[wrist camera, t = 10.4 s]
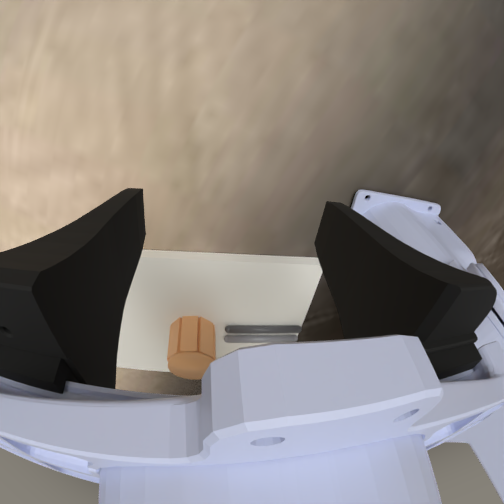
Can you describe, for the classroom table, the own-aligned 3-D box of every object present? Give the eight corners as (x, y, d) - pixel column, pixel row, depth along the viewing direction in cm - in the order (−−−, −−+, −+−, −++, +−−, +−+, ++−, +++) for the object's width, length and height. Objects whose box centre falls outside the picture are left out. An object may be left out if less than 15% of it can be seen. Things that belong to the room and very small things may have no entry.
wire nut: (213, 315, 27) (213, 355, 24) (216, 341, 30) (218, 378, 26) (167, 316, 27) (162, 355, 23) (175, 343, 29) (173, 379, 26)
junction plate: (321, 257, 25) (335, 289, 22) (280, 366, 36) (285, 392, 33) (71, 245, 22) (54, 276, 19) (111, 359, 33) (106, 386, 29)
